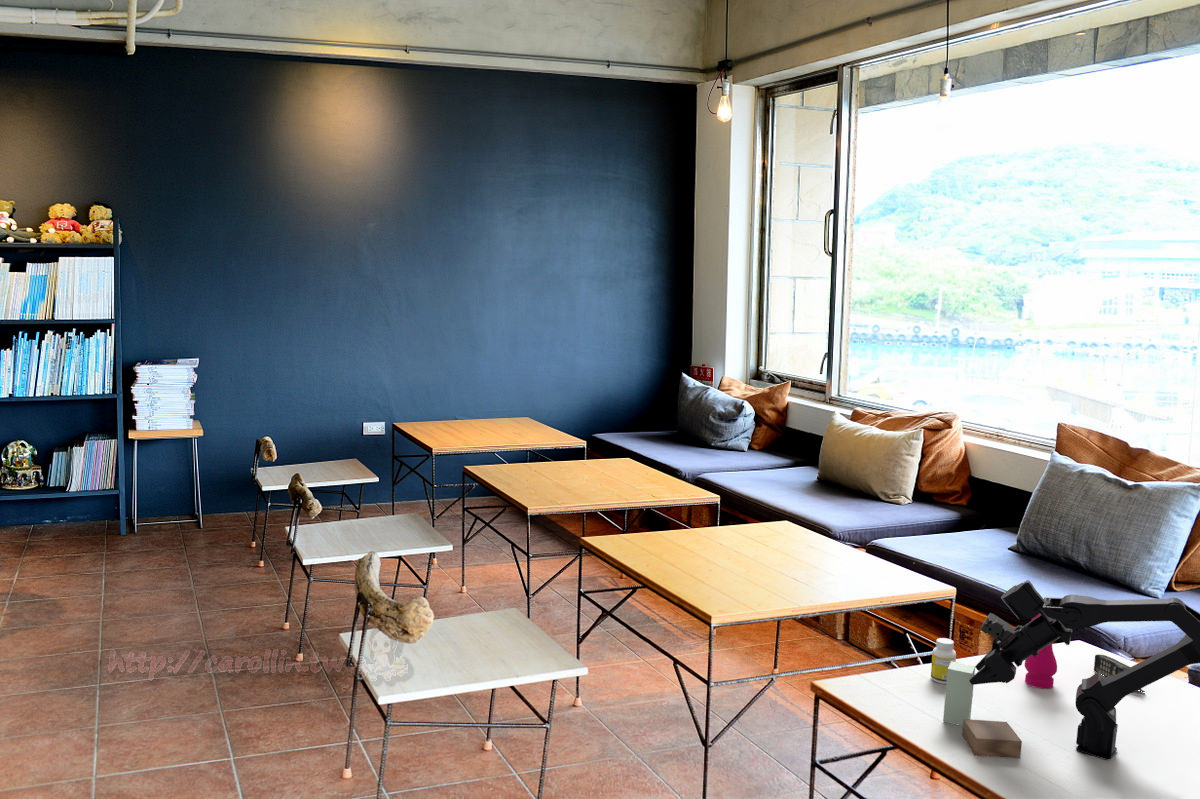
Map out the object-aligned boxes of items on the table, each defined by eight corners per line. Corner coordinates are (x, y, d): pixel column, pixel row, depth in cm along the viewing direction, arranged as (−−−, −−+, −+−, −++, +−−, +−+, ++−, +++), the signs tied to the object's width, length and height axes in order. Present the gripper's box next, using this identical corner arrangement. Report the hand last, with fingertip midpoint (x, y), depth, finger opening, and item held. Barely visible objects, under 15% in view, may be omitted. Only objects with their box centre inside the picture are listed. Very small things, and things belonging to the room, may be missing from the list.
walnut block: (1004, 739, 219) (1006, 721, 218) (1020, 759, 210) (1021, 741, 210) (961, 737, 219) (963, 719, 219) (974, 757, 210) (976, 738, 210)
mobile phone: (1092, 653, 259) (1139, 674, 245) (1102, 652, 260) (1150, 673, 246) (1091, 672, 260) (1138, 695, 245) (1101, 671, 260) (1148, 694, 246)
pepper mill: (1027, 675, 255) (1035, 596, 252) (1058, 683, 251) (1066, 603, 248) (1019, 684, 249) (1027, 603, 246) (1051, 692, 245) (1059, 610, 242)
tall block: (970, 718, 228) (975, 666, 227) (967, 726, 224) (972, 673, 222) (946, 713, 230) (951, 661, 229) (943, 721, 226) (947, 668, 224)
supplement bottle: (935, 673, 253) (938, 635, 252) (957, 680, 250) (961, 640, 249) (926, 680, 249) (930, 640, 248) (948, 686, 246) (952, 646, 244)
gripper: (1012, 594, 228) (955, 632, 235) (1002, 617, 212) (941, 658, 218) (1047, 635, 226) (988, 673, 232) (1040, 663, 209) (977, 702, 216)
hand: (973, 675), depth 225 cm, fingers open, 9 cm apart
